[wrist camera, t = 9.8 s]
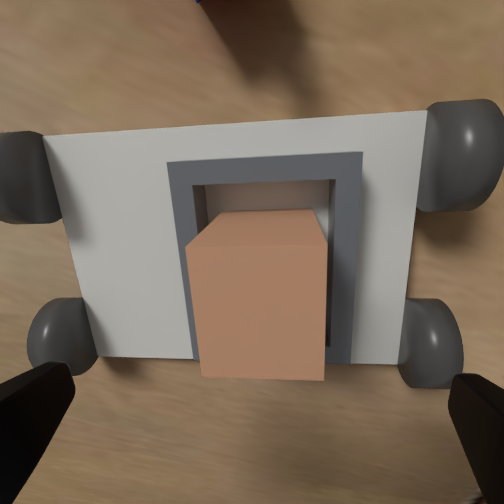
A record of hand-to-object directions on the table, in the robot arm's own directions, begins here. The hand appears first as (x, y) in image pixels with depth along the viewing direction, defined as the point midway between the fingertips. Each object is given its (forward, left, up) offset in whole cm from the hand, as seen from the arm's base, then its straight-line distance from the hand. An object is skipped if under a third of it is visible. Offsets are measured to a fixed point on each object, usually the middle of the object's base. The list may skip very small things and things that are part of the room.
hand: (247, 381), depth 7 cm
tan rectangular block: (0, 0, -9) cm, 9 cm away
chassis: (0, +2, -11) cm, 11 cm away
